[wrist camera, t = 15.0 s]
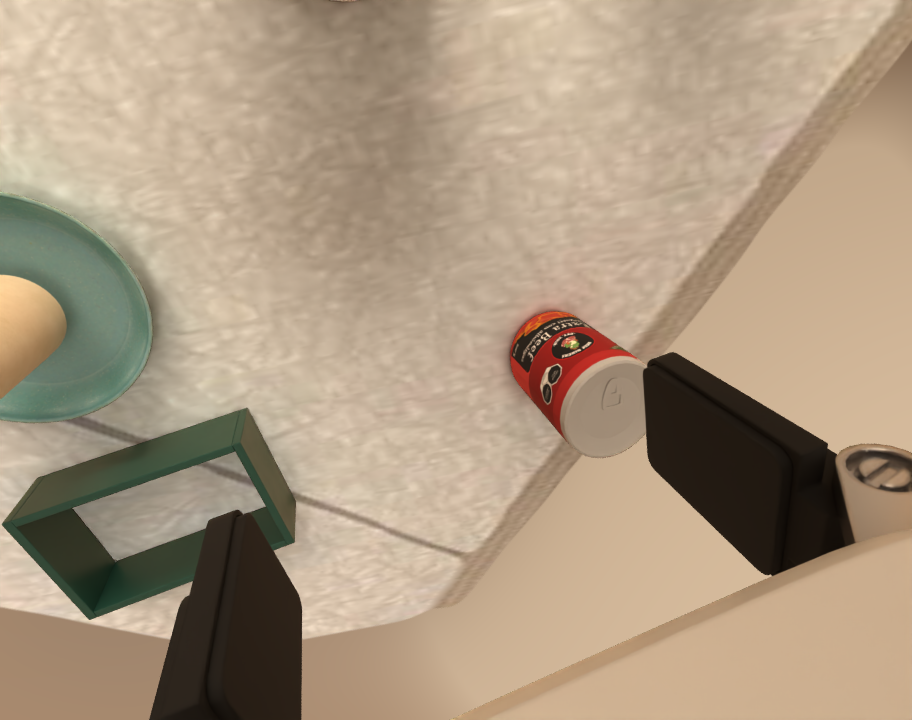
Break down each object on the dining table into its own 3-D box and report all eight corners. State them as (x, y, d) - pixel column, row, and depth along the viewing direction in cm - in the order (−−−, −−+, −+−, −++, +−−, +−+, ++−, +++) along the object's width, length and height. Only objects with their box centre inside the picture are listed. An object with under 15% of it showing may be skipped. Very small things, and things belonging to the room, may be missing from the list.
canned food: (573, 293, 43) (651, 340, 33) (594, 367, 47) (670, 428, 37) (494, 332, 42) (550, 392, 33) (522, 404, 46) (579, 476, 36)
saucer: (83, 153, 30) (64, 155, 27) (202, 362, 37) (195, 377, 34) (-186, 228, 28) (-231, 237, 26) (-8, 433, 35) (-30, 455, 32)
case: (36, 477, 37) (0, 524, 32) (247, 407, 39) (240, 442, 35) (111, 569, 42) (89, 620, 37) (296, 501, 44) (295, 542, 39)
